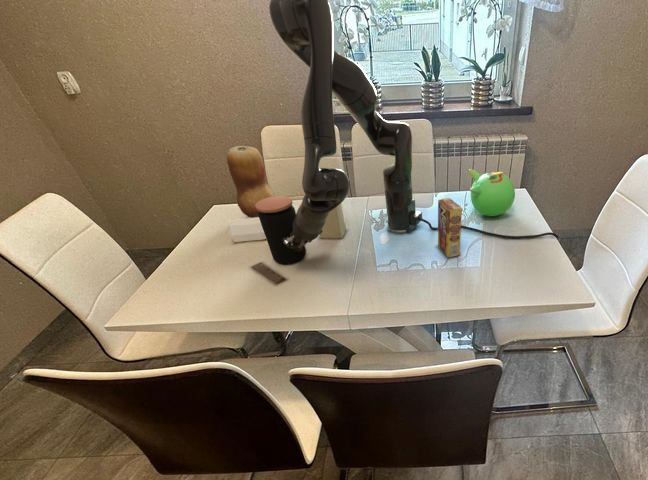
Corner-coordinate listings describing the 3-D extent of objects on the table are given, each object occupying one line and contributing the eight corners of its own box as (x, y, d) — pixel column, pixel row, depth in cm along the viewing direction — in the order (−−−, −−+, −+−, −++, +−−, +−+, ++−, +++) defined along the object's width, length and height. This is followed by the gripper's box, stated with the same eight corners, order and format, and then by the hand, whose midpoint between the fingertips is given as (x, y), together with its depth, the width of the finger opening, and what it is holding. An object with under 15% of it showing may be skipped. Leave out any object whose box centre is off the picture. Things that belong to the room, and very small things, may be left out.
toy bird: (516, 222, 134) (522, 179, 124) (468, 224, 135) (470, 181, 125) (508, 202, 147) (512, 162, 137) (464, 204, 148) (466, 164, 138)
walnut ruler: (285, 279, 113) (285, 278, 112) (276, 284, 111) (276, 282, 111) (261, 263, 121) (260, 262, 120) (252, 267, 119) (251, 266, 119)
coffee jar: (312, 251, 125) (298, 196, 113) (296, 267, 118) (279, 211, 106) (285, 248, 128) (268, 194, 116) (267, 264, 120) (247, 208, 108)
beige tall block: (347, 229, 136) (336, 167, 122) (342, 238, 131) (330, 175, 117) (326, 229, 137) (312, 168, 123) (320, 238, 132) (305, 176, 118)
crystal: (222, 236, 128) (293, 229, 129) (223, 218, 130) (293, 212, 131) (232, 248, 135) (300, 242, 136) (233, 231, 137) (299, 225, 138)
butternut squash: (278, 222, 144) (256, 150, 127) (242, 227, 142) (215, 155, 125) (280, 208, 154) (259, 140, 137) (246, 212, 152) (221, 144, 135)
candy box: (460, 255, 119) (462, 207, 108) (448, 258, 118) (448, 210, 107) (449, 243, 125) (450, 197, 114) (437, 246, 124) (437, 199, 113)
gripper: (321, 200, 105) (307, 231, 119) (280, 216, 98) (270, 246, 113) (337, 224, 105) (321, 251, 120) (297, 241, 99) (285, 267, 113)
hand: (296, 248), depth 116 cm, fingers closed
